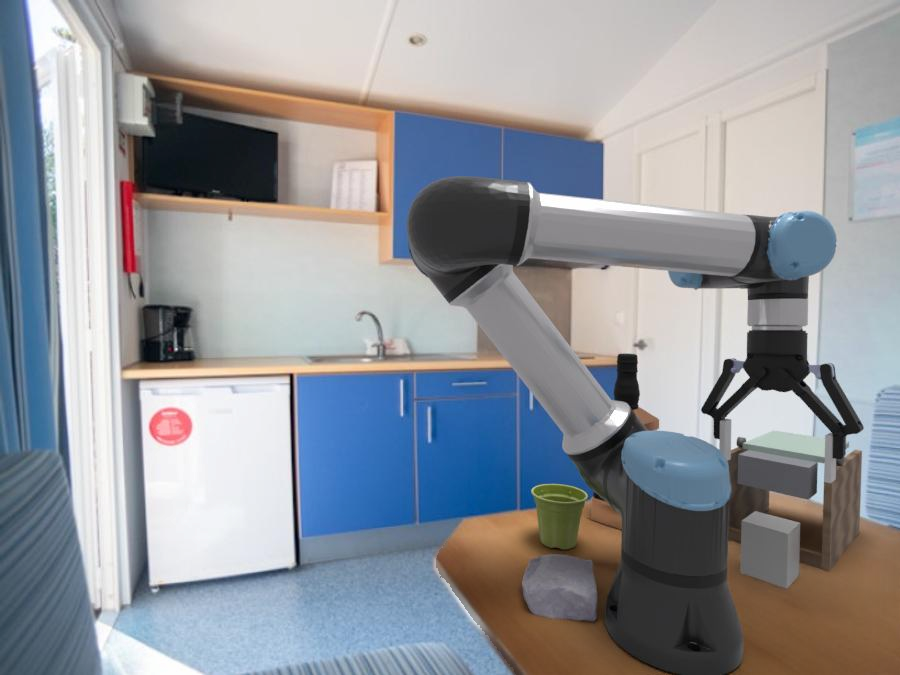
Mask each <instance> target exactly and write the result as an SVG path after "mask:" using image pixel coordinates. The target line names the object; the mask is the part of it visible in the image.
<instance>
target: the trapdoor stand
mask: <svg viewBox="0 0 900 675" xmlns="http://www.w3.org/2000/svg"><path fill="white" fill-rule="evenodd" d="M744 442H747V438H746V437H743V436H738V437H737V438H736V447H735V448H733V449H731V459H730V460H728V461H727V462H728V465H729V475H730V483H731V495H730V497H729V498H730V499H729V528H728V541H731V542H735V543H738V544H741V523H742V520H743V519H745V518H746V517H748V516H749V515H750V514H752V513H753V512H755V511H757V512H761V513H765V514H766V512H767V511H769V510H770V491H768V490H763V489H759V488H755V487H750V486H746V485H742V484H738V455H739V454H741V453H743V452H745V451H747V449H743V443H744ZM862 459H863V450H861V449H860V450H859V449H854V450H852V451H851V452H849V453H848V454H847V455H845V456H844V458H843V459H836V479H835V480H834V481H833V482H832V483H827V482H824V481H823V499H822V500H823V503H822V504H823V506H822V536H821V539H822V540H821V552H819V551H815V550H811V549H808V548H804V547H801V546H800V553H799V563H802V564H806V565H807V566H808V565H809V566H812V567H815V568H818V569H822V570H825V571H828V572H831V570H832V569H833V567H834V566H835V565H836V563H837V562H838V561H839V559H840V558H842V557H841V556H842V555H843V554H844V553H845V551H847V549H848V548H849V546H850V545H851V544H852V543H853V541H854V540H855V539H856V538H857V536H858V535H859V533H860V528H861V527H860V524H861V522H860V521H861V497H862V496H861V494H862V492H861V490H862V488H861V487H862V464H863V461H862Z"/></svg>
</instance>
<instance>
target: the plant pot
mask: <svg viewBox="0 0 900 675" xmlns="http://www.w3.org/2000/svg"><path fill="white" fill-rule="evenodd" d="M530 491H531V495H532V497H533V499H534V500H533V501H534V503H535V506H536V508H535V509H536V515H537V523H538V524H537V525H538V533H539V541H540V542H541V544H542V545H544V546H546V547H547V548H551V549H554V548H558V549H560V550H565V551H566V550H570V549H572V548H575V547H576V545H577V543H578V536H579V531H580V524H581V520H582V513H583V508H584V507H585V503H586V501H587V500H588V497H589V496H588V493H587V492H586V491H584V490H583V489H581V488H579V487H576V486H573V485H567V484H562V483H561V484H560V483H542V484H538V485H535V486H534V487H532V488H531V490H530Z"/></svg>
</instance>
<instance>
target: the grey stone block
mask: <svg viewBox="0 0 900 675" xmlns="http://www.w3.org/2000/svg"><path fill="white" fill-rule="evenodd" d="M800 542H801V522H798V521H794V520H790V519H787V518H783V517H779V516H775V515H771V514H768V513H766V512H765V513H761V512H757V511H755V512H753V513H752V514H750V515H749V516H748V517H746V518H745V519H743V520H742V523H741V543H740V568H739V569H740V571H739V572H740V574H743V575H746V576H749V577H752V578H754V579H758V580H760V581H763V582H766V583H770V584H771V585H775V586H776V587H777V586H778V587H779V588H783V589H785V590H787V589H788V588H790V586H791V585H792V584H793V582H794V581H796V579H797V578H798V577H799V575H800V562H799V553H800V547H801V544H800Z"/></svg>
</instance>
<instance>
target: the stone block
mask: <svg viewBox="0 0 900 675" xmlns="http://www.w3.org/2000/svg"><path fill="white" fill-rule="evenodd" d="M593 564H594V563H593V560H591V558H590V559H589V558H588V559H583V558H579V557H577V556H570V555H568V554H561V553H559V554H555V553H551V554H546V555H538V556H537V557H533V558H532V559H529V561H528V566H527V567H526V569H525V571H524V574H523V577H522V582H521V587H522V593H523V594H522V595H523V598H524V601H525V602H526V604H527V608H528V609H529V611H530V612H531V613H532V614H533V615H536V616H540V617H544V618H548V619H559V620H560V619H561V620H564V619H565V620H566V619H567V620H574V621H579V622H580V621H586V622H595V621H596V619H597V617H598V590H597V582H596V578H595V575H594V565H593Z"/></svg>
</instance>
